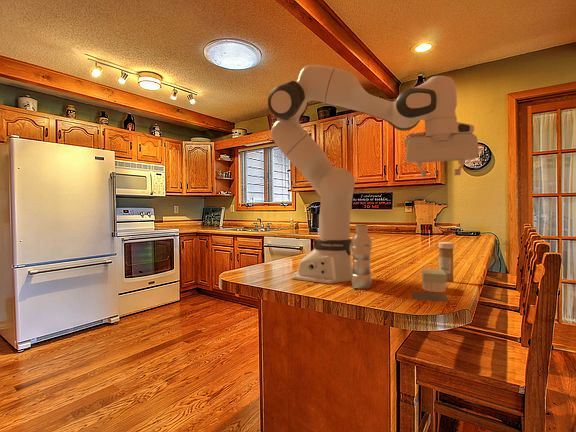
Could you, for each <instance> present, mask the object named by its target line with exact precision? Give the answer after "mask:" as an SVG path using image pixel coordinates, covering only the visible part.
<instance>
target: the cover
mask: <svg viewBox="0 0 576 432" xmlns="http://www.w3.org/2000/svg"><path fill="white" fill-rule="evenodd" d="M421 277H422V278H423V281H424V282H439V283H446V284H447V282H446V273H445V272H444V271H443V270H439V268H438V269H435V268H422V269H421ZM422 278H421V279H422Z"/></svg>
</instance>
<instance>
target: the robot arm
mask: <svg viewBox="0 0 576 432" xmlns="http://www.w3.org/2000/svg"><path fill="white" fill-rule="evenodd" d="M297 77H298V78H297V80H291V81H288V82H285V83H282V84H279V85H277V86H275V87H274V88H272V90H271V91H270V92H269V95H268V98H267V106H268V109H269V111H270V113H271V114H272V115H273V117H274V116H275V117H276V121H275V122H274V123H273V125H272V127H271V129H270V137H271V138H272V140H273V142H274V143H275V145H276V146H277V147H278V149H279V150H280V151H281V153H282V154H283V155H284V156H285V157H286V159H288V160H289V162H291V163H292V164H293V166H294V167H295V168H296V169H297V170H298V171H299V172H300V173H301V175H302V176H303V178H305V180H306V181H307V183H309V185H310V186H311V187H312V189H313V190H314V191H315V192H316V193H317V194H318V196H319V197H320V207H319V214H318V215H319V216H318V238H316V239H315V240H314V241H313V243H312V245H313V249H312V250H310V251H309V252H308V253H307V254H306V255H305V256H303V257H302V258H301V259H300V260H299V263H298V268H297V271H295V272H293V273H292V275H291V279H293V280H297V281H307V282H313V283H314V282H315V283H323V284H328V285H329V284H330V285H331V284H336V283H343V282H351V277H352V271H353V263H352V259H351V258H352V257H351V254H352V245H351V241H352V239H351V211H352V205H353V197H354V189H355V185H356V182H355V176H354V175H353V174H352V172H350V171H349V170H348V169H345V168H342V167H335V166H334V165H333V164H332V162H331V160H329V158H328V156H327V155H326V153H325V151H324V149H323V148H322V147H320V145H319V144H318V143H317V142H316V141H315V139H313V138H312V137H311V135H310V134H308V133H307V131H306V130H305V129H304V128H303V127H302V125H301V123H300V122H302V119H303V117H304V115H305V113H306V111H307V109H308V106H309V102H311V101H313V102H314V101H315V102H319V103H320V102H321V103H323V104H326V105H332V106H334V107H335V106H336V107H339V108H345V109H348V110H352V111H356V112H359V113H362V114H365V115H368V116H371V117H374V118H377V119H380V120H383V121H385V122H387V123H388V124H389V125H391V126H392V127H393V128H394V129H395V130H398V131H400V132H401V131H403V132H406V131H411V130H412V129H414V128H415V127H417V125H418V124H419V123H420V121H422V120H423V121H424V131H423V132H417V133H415V132H414V133H413V132H411V133H409V134H408V135H406V136H405V137H404V144H403V145H404V147H405V148H406V150H405V151H406V152H405V161H406V163H407V164H417V168H418V170H419V172H420V176H421V178H425V177H427V170H424V168H423V163H433V162H452V161H453V162H454V161H455V162H456V161H458V165H459V166H458V167H457V168H454V170H453V171H454V174H453V175H454V176H461V173H462V172H461V171H462V169H463V167H464V165H465V163H466V161H473V160H475V159H477V158H478V157H479V155H480V154H479V153H480V150H479V141H478V138H477V135H475V133H474V131H475V126H474V125H473V124H470V123H464V122H459V121H458V120H457V118H458V117H457V115H456V108H457V105H458V102H457V101H458V100H457V99H458V98H457V97H458V95H457V87H456V83H455V81H454V79H453V78H452V77H451V76H448V75H443V74H442V75H441V74H439V75H435V76H431V77H430V78H428V79H427V80H426V81H424V82H423V83H421V84H420V85H419V84H418V85H417V86H415V87H410V88H407V89H404V90H402V92H401V93H400V94H399V95H398V96H397V98H396V100H395V101H392V100H391V101H390V100H388V99H385V98H382V97H378V96H375V95H372V94H370V93H369V92H367V90H365V89H364V87H363V86H362V84H361V83H360V81H359V79H358V78H357V76H356V75H355V74H353V73H351V72H349V71H348V70H346V69H341V68H337V67H333V66H328V65H321V64H320V65H319V64H308V65H305V66H304V67H303V68H302V69H301V70H300V72H299V74H298V76H297Z"/></svg>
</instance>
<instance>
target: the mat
mask: <svg viewBox="0 0 576 432" xmlns="http://www.w3.org/2000/svg"><path fill="white" fill-rule="evenodd" d="M410 292H411V298H412V300H421V301H433V302H434V301H435V302H445V303H450V300H449V298H448V297H447V294H446V293H436V292H423V291H422V292H421V291H410Z"/></svg>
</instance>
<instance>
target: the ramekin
mask: <svg viewBox="0 0 576 432" xmlns="http://www.w3.org/2000/svg"><path fill="white" fill-rule="evenodd" d="M421 288H422V290H424V291H426V292H430V293H444V292H446V291H447V282H446V283H439V282H424V281H423V278H421Z"/></svg>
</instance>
